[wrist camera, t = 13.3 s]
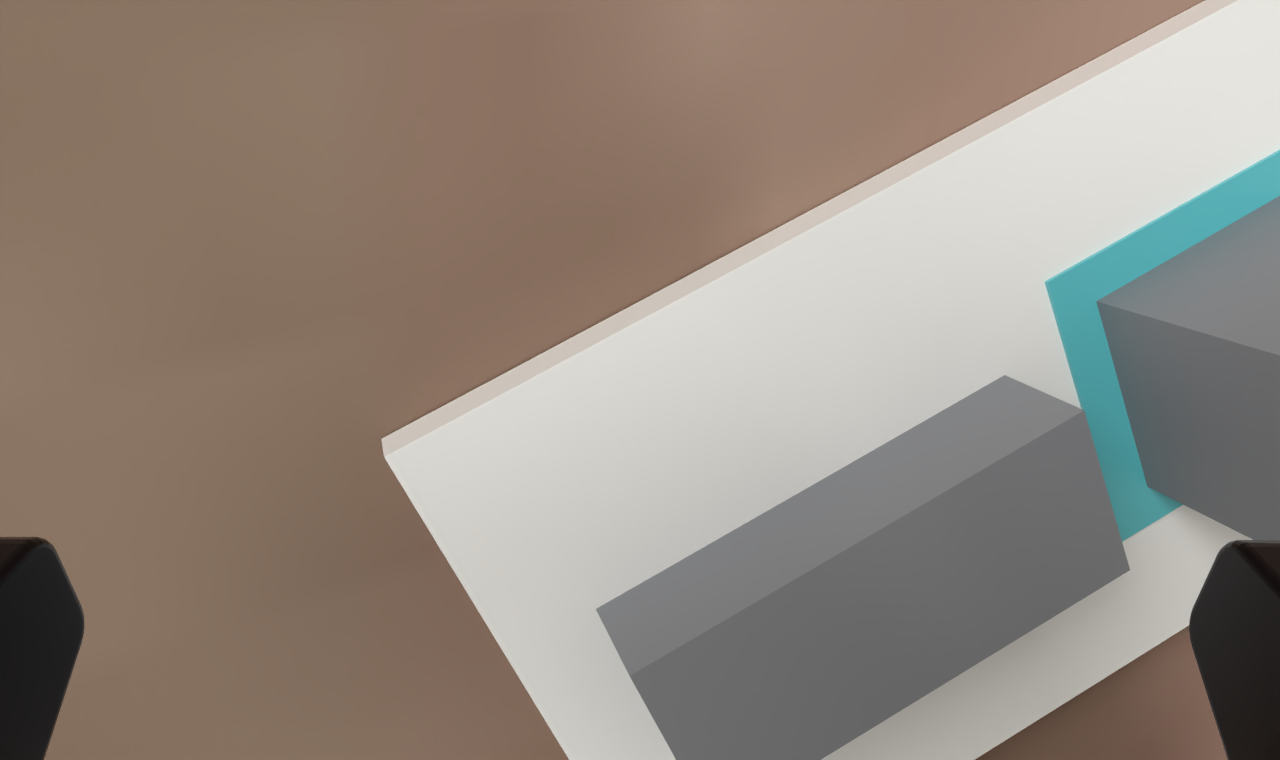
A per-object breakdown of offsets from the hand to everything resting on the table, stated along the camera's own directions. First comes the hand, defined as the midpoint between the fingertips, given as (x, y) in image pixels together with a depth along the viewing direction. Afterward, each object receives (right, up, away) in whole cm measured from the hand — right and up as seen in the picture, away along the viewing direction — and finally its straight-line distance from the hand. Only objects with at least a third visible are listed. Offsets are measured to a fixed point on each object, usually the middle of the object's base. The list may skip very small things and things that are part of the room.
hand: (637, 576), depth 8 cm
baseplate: (+7, 0, +15) cm, 17 cm away
